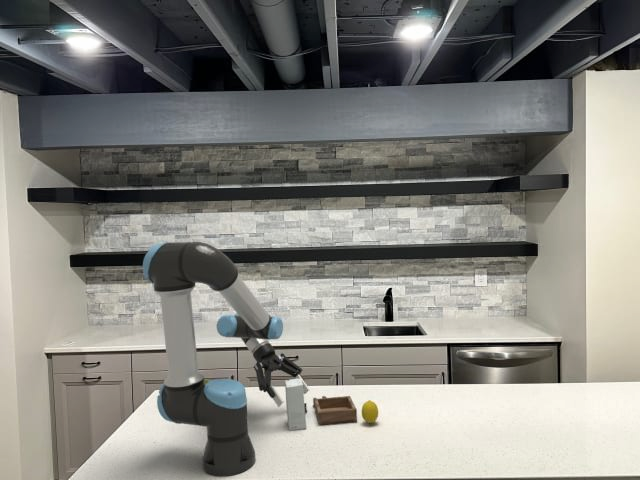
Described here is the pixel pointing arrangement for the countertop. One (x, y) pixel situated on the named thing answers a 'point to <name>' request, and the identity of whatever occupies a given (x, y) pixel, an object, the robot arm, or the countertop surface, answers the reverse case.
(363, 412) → the lemon
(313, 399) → the clip
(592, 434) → the countertop surface
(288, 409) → the skincare box
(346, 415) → the open wooden tray
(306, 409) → the clip
